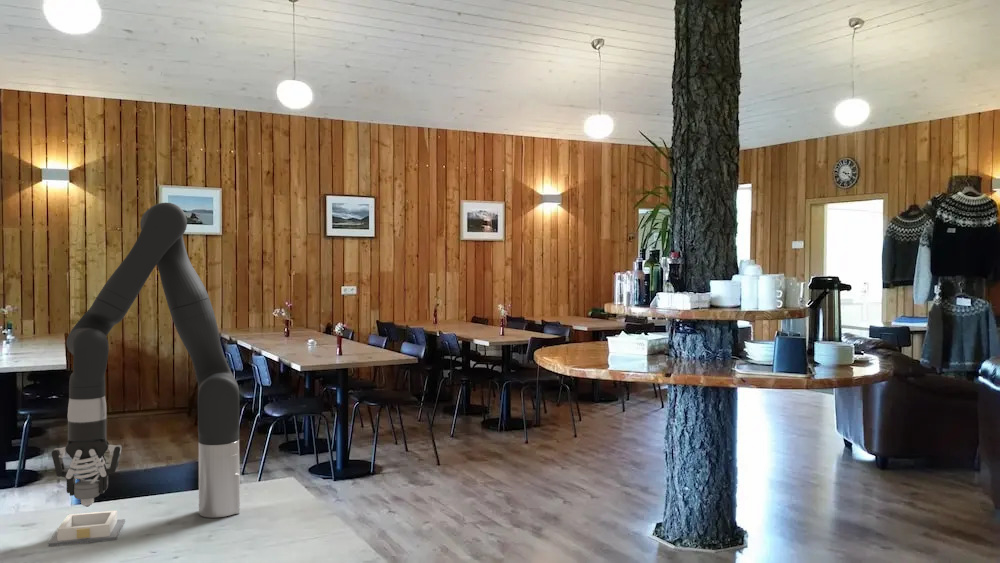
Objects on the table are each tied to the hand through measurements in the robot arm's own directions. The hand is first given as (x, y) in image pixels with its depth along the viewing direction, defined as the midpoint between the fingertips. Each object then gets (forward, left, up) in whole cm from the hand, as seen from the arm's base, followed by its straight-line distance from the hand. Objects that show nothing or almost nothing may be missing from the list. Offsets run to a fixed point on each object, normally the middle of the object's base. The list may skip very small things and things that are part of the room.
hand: (87, 493), depth 170 cm
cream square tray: (0, 0, -9) cm, 9 cm away
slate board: (0, 0, -9) cm, 9 cm away
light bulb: (0, 0, -3) cm, 3 cm away
